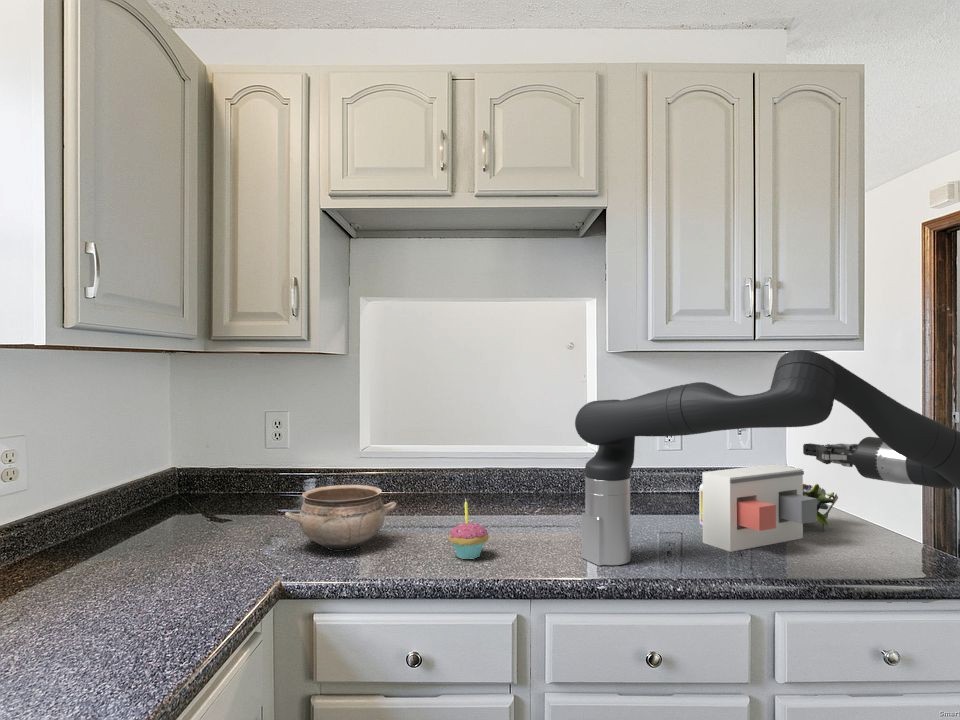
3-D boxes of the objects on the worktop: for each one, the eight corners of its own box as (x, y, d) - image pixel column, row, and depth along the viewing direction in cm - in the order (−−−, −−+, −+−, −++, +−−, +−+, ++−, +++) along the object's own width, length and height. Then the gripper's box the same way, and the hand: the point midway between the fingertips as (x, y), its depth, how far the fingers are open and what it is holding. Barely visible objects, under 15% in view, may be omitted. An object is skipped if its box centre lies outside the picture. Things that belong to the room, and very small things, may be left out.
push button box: (731, 552, 142) (731, 478, 142) (702, 542, 150) (702, 472, 150) (804, 538, 153) (803, 469, 153) (773, 530, 160) (773, 464, 160)
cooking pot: (385, 530, 162) (385, 480, 162) (408, 550, 145) (408, 495, 145) (280, 542, 153) (279, 489, 152) (291, 566, 135) (290, 506, 135)
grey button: (801, 523, 145) (801, 500, 145) (778, 517, 150) (778, 495, 150) (816, 521, 147) (816, 498, 147) (793, 515, 152) (793, 493, 152)
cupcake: (443, 553, 143) (443, 498, 143) (480, 549, 146) (480, 494, 146) (456, 565, 135) (456, 506, 135) (495, 560, 138) (494, 502, 138)
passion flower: (802, 546, 167) (821, 500, 171) (839, 551, 156) (858, 501, 160) (763, 520, 166) (783, 473, 170) (797, 522, 154) (818, 473, 158)
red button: (759, 531, 139) (759, 507, 139) (736, 524, 144) (736, 501, 144) (776, 528, 141) (775, 504, 141) (753, 521, 146) (753, 499, 146)
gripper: (868, 485, 113) (782, 470, 129) (915, 478, 119) (828, 464, 135) (867, 441, 113) (782, 432, 129) (915, 436, 119) (827, 428, 135)
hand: (805, 448), depth 132 cm, fingers closed
